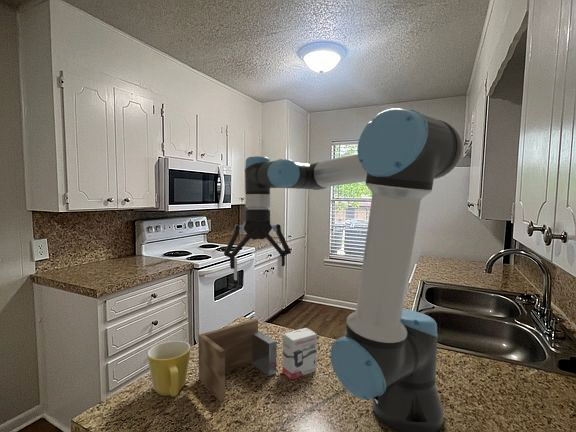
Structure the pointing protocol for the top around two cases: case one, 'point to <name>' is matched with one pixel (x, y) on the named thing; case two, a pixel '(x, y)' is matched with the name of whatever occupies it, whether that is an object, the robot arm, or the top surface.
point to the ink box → (299, 352)
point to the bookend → (264, 353)
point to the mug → (169, 366)
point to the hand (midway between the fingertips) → (257, 278)
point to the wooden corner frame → (224, 354)
